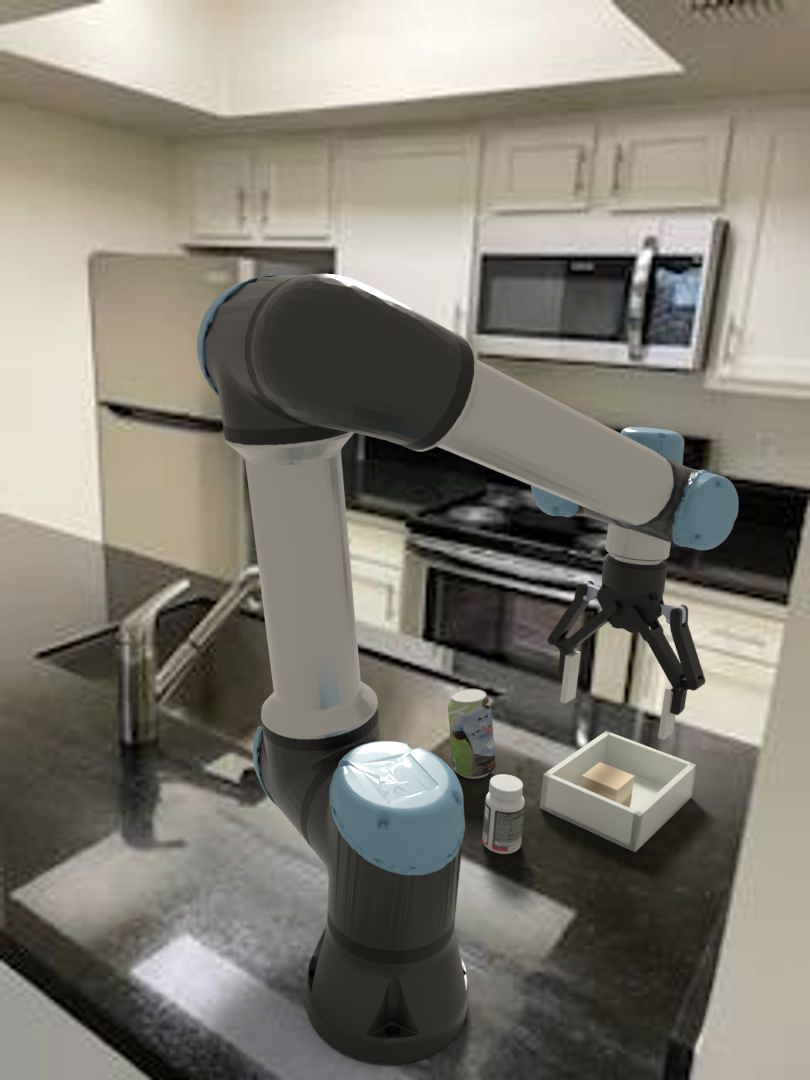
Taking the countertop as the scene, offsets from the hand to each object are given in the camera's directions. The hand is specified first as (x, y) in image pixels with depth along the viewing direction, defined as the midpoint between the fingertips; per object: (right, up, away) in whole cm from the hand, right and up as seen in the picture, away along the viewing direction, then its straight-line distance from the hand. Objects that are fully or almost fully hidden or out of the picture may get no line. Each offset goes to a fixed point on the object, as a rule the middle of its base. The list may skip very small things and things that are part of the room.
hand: (614, 717), depth 107 cm
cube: (0, -13, +4) cm, 13 cm away
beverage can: (-18, -11, +12) cm, 24 cm away
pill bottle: (-15, -15, -4) cm, 21 cm away
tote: (+2, -13, +7) cm, 15 cm away
